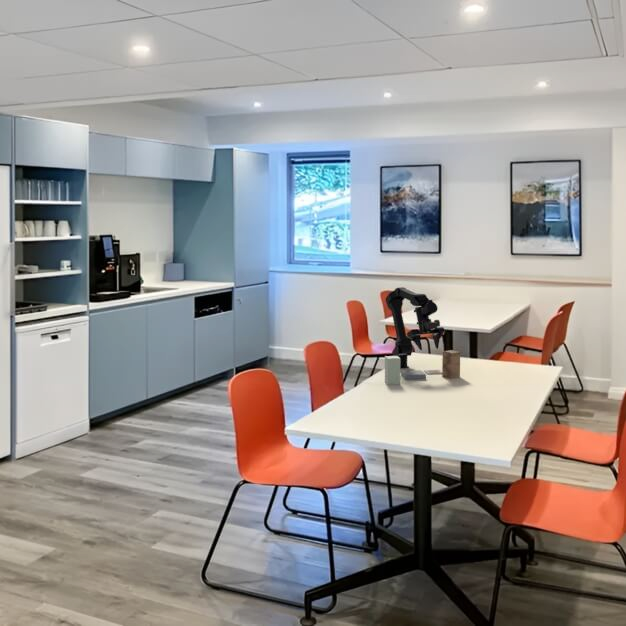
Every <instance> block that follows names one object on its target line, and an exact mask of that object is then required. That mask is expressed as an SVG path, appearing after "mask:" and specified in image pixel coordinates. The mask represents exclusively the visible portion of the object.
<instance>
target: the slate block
mask: <svg viewBox="0 0 626 626" xmlns="http://www.w3.org/2000/svg"><path fill="white" fill-rule="evenodd" d="M400 377H402V378H403V380H405V381H416V380H417V381H419V380H420V381H421V380H427V373H425V372H424V370H420V369H419V370H418V369H417V370H416V369H415V370H413V369H412V370H411V369H410V370H400Z"/></svg>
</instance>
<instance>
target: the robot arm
mask: <svg viewBox="0 0 626 626" xmlns="http://www.w3.org/2000/svg"><path fill="white" fill-rule="evenodd" d="M405 299H406V300H407V301H409V303H410V304H411V306H413V307H414V310H413V313H415V314H416V320H417V322H416V325H418V329H417V328H415V329H413V328H412V329H411V330H408V331H406V328H405V321H404V318H403V314H402V313H403V312H402V307H403V304H404V303H403V302H404V300H405ZM385 303H386V306H387V309H389V310H390V311H391V315H392V319H393V324H394V328H395V334H396V338H395V339H396V340H395V343H394V348H393V350H392V356H398V357H399V358H400V369H410V366H409V365H408V356H412V353H413V343H414V344H415V345H416V346H417V348H418V349H419V351H422V350H423V347H422V342H421V335H422V336H423V335H432V336H431V337H432V339H433V343H434V347H435V348H436V349H437V350H438V349H439V344H440V339H441V336H442V335H444V334H445V333H446V329H445V328H444V326H443V327H440V326H441V322H440V320H439V319H434V321H432V319H431V318H430V316H432V315H433V314H435V313H436V312H437V311H438V309H439V308H438V305H437V304H436V303H435V302H434V301H433V299H429V298H428V297H427V295H426V294H425V293H416V292H414V291H411V290H409V289H407V288H406V287H396V288H395V289H394V290H393V291H390V292H389V293H388V294H387V296H386V297H385ZM412 341H413V343H412Z"/></svg>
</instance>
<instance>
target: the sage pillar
mask: <svg viewBox="0 0 626 626" xmlns="http://www.w3.org/2000/svg"><path fill="white" fill-rule="evenodd" d="M384 383H385V384H386V385H387V386H395V385H396V386H399V384H400V385H401V368H400V358H399V357H398V356H393V355H389V356H387V355H384Z"/></svg>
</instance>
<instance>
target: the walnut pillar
mask: <svg viewBox="0 0 626 626" xmlns="http://www.w3.org/2000/svg"><path fill="white" fill-rule="evenodd" d="M441 360H442V365H441V366H442V370H441V372H442V374H441V376H442V378H446V377H447V379H452V378H453V379H456V378H457V377H458V378H460V377H461V351H457V350H452V349H450V350H444V351H442V359H441Z"/></svg>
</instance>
